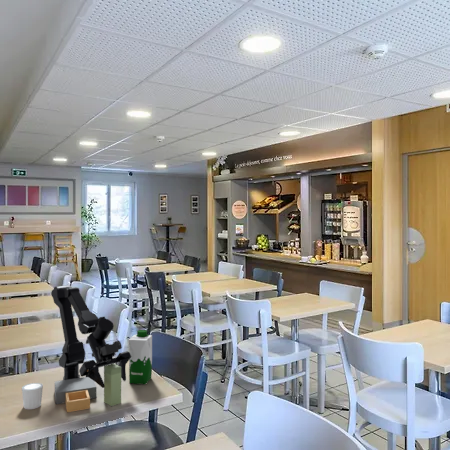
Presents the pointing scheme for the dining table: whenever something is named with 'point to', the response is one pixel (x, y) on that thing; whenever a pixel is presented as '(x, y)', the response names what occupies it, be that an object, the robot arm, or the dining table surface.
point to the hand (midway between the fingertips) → (114, 383)
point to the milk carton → (140, 358)
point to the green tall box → (112, 384)
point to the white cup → (32, 395)
